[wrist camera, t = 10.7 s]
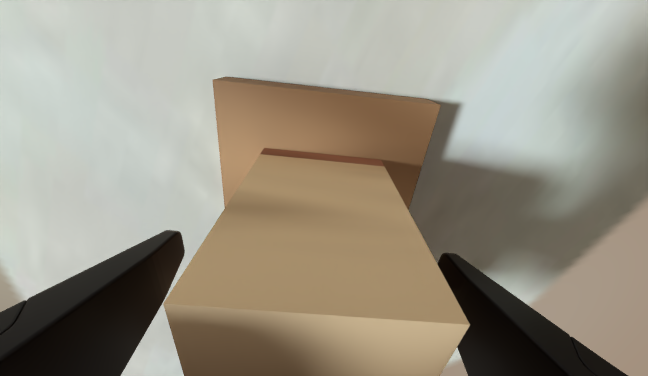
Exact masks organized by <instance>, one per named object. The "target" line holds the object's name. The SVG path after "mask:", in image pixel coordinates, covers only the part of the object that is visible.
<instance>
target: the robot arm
mask: <svg viewBox="0 0 648 376" xmlns="http://www.w3.org/2000/svg"><path fill="white" fill-rule="evenodd" d="M184 252H185V250H184V245H183V240H182V235H181V233H180V232H179V231H172V230H166V231H164V232H162V233H160V234H158V235H156V236H154V237H152V238H150V239H148V240H146V241H144V242H142V243H140V244H138V245H135V246H133V247H131V248H129V249H127V250H125V251H123V252H121V253H119V254H117V255H115V256H113V257H111V258H109V259H107V260H105V261H103V262H101V263H99V264H97V265H95V266H93V267H91V268H89V269H87V270H85V271H83V272H81V273H79V274H77V275H75V276H73V277H71V278H69V279H67V280H65V281H63V282H61V283H59V284H57V285H55V286H53V287H51V288H49V289H47V290H44V291H42V292H40V293H38V294H36V295H34V296H32V297H30V298H29V299H28V300H27V301H26V300H25V301H22V302H20V303H18V304H16V305H14V306H12V307H10V308H8V309H6V310H4V311H2V312H0V376H121V374H122V372H123V370H124V369H125V367H126V365H127V363H128V362H129V360H130V358H131V357H132V355H133V353H134V351H135V350H136V348H137V346H138V344H139V343H140V341H141V339H142V337H143V336H144V334H145V332H146V331H147V329H148V327H149V325H150V324H151V322H152V320H153V318H154V317H155V315H156V313H157V312H158V310H159V308H160V306H161V305H162V303H163V301H164V299H165V297H166V295H167V293H168V291H169V288H170V286H171V284H172V282H173V279H174V277H175V275H176V273H177V270H178V268H179V266H180V264H181V261H182V259H183V257H184ZM438 266H439V268H440V270H441V272H442V274H443V276H444V277H445V279H446V281H447V283H448V285H449V287H450V289H451V290H452V292H453V294H454V296H455V298H456V300H457V301H458V303H459V305H460V307H461V309H462V311H463V313H464V314H465V316H466V318H467V320H468V322H469V324H470V326H469V328H468V329H467V331H466V333H465V334H464V336H463V338H462V339H461V341H460V343H459V344H458V346H457V347H458V350H459V353H460V355H461V358H462V361H463V363H464V366H465V368H466V371H467V374H468V376H628V375H626V374H625V373H623V372H622V371H620V370H619V369H617V368H616V367H614V366H613V365H611V364H610V363H608V362H607V361H606V360H604V359H603V358H601V357H600V356H598V355H597V354H596V353H594V352H593V351H591V350H590V349H588V348H587V347H586V346H584V345H583V344H581V343H580V342H579V341H577V340H576V339H575V338H573V337H570V336H569V334H567V333H566V332H565V331H563V330H562V329H560V328H559V327H558V326H556V325H555V324H553V323H552V322H551V321H549V320H548V319H546V318H545V317H544V316H542V315H541V314H539V313H538V312H537V311H535V310H534V309H532V308H531V307H530V306H528V305H527V304H525V303H524V302H523V301H521V300H520V299H518V298H517V297H516V296H514V295H513V294H511V293H510V292H509V291H507V290H506V289H504V288H503V287H502V286H500V285H499V284H497V283H496V282H495V281H493V280H492V279H490V278H489V277H488V276H486V275H485V274H483V273H482V272H481V271H479V270H478V269H476V268H475V267H474V266H472V265H471V264H469V263H468V262H467V261H465V260H464V259H462V258H461V257H460V256H458V255H457V254H454V253H443V254H442V255H441V257H440V260H439V262H438Z"/></svg>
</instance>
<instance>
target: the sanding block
mask: <svg viewBox="0 0 648 376" xmlns="http://www.w3.org/2000/svg"><path fill="white" fill-rule="evenodd" d="M163 304H164V308H165V311H166V315H167V318H168V322H169V325H170V329H171V332H172V335H173V339H174V342H175V346H176V349H177V353H178V356H179V360H180V363H181V366H182V370H183V373H184V376H440V374H441V373H442V371H443V369H444V368H445V366H446V364H447V363H448V361H449V359H450V358H451V356H452V354H453V353H454V351H455V349H456V348H457V346H458V344H459V343H460V341H461V339H462V338H463V336H464V334H465V333H466V331H467V329H468V328H469V326H470V324H469V322H468V320H467V318H466V316H465V314H464V313H463V311H462V309H461V307H460V305H459V303H458V301H457V300H456V298H455V296H454V294H453V292H452V290H451V289H450V287H449V285H448V283H447V281H446V279H445V277H444V276H443V274H442V272H441V270H440V268H439V266H438V264H437V263H436V261H435V259H434V257H433V255H432V253H431V252H430V250H429V248H428V246H427V244H426V242H425V240H424V239H423V237H422V235H421V233H420V231H419V229H418V227H417V226H416V224H415V222H414V220H413V218H412V216H411V215H410V213H409V211H408V209H407V207H406V205H405V203H404V202H403V200H402V198H401V196H400V194H399V192H398V190H397V189H396V187H395V185H394V183H393V181H392V179H391V178H390V176H389V174H388V172H387V170H386V168H385V166H384V165H383V163H382V161H381V160H379V159H369V158H359V157H349V156H339V155H329V154H319V153H309V152H299V151H289V150H279V149H269V148H264V149H263V150H262V152H261V154H260V155H259V157H258V158H257V160H256V161H255V163H254V164H253V166H252V167H251V169H250V171H249V172H248V174H247V175H246V177H245V178H244V180H243V181H242V183H241V184H240V186H239V188H238V189H237V191H236V192H235V194H234V195H233V197H232V198H231V200H230V201H229V203H228V205H227V206H226V208H225V209H224V211H223V212H222V214H221V215H220V217H219V218H218V220H217V222H216V223H215V225H214V226H213V228H212V229H211V231H210V232H209V234H208V235H207V237H206V239H205V240H204V242H203V243H202V245H201V246H200V248H199V249H198V251H197V252H196V254H195V256H194V257H193V259H192V260H191V262H190V263H189V265H188V266H187V268H186V269H185V271H184V273H183V274H182V276H181V277H180V279H179V280H178V282H177V283H176V285H175V286H174V288H173V290H172V291H171V293H170V294H169V296H168V297H167V299H166V300H165V302H164V303H163Z"/></svg>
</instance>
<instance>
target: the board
mask: <svg viewBox="0 0 648 376" xmlns="http://www.w3.org/2000/svg"><path fill="white" fill-rule="evenodd" d="M213 89H214V99H215V110H216V120H217V131H218V141H219V152H220V162H221V173H222V183H223V194H224V204H225V208H226V206H227V205H228V203H229V201H230V200H231V198H232V197H233V195H234V194H235V192H236V191H237V189H238V188H239V186H240V184H241V183H242V181H243V180H244V178H245V177H246V175H247V174H248V172H249V171H250V169H251V167H252V166H253V164H254V163H255V161H256V160H257V158H258V157H259V155H260V154H261V152H262V150H263V149H264V148H269V149H279V150H289V151H299V152H309V153H319V154H329V155H339V156H349V157H359V158H369V159H379V160H381V161H382V163H383V165H384V166H385V168H386V170H387V172H388V174H389V176H390V178H391V179H392V181H393V183H394V185H395V187H396V189H397V190H398V192H399V194H400V196H401V198H402V200H403V202H404V203H405V205H406V207H407V209H409V206H410V203H411V200H412V197H413V193H414V190H415V187H416V184H417V180H418V177H419V174H420V171H421V167H422V164H423V161H424V158H425V155H426V151H427V148H428V145H429V142H430V138H431V135H432V132H433V129H434V126H435V122H436V119H437V116H438V113H439V109H440V106H441V105H440V104H437V103H435V102H433V101H430V100H428V99H422V98H413V97H404V96H395V95H386V94H377V93H368V92H359V91H350V90H341V89H332V88H323V87H314V86H305V85H296V84H287V83H278V82H269V81H260V80H251V79H243V78H234V77H223V78H218V79H214V80H213Z"/></svg>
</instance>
